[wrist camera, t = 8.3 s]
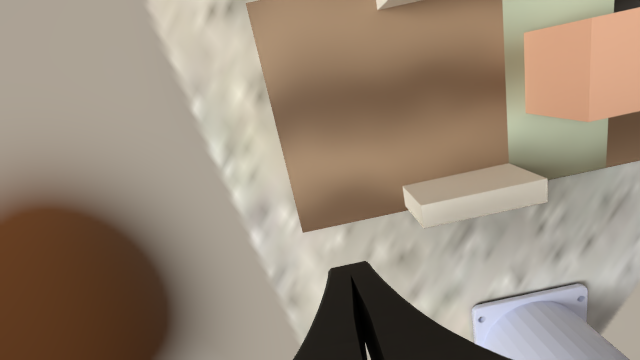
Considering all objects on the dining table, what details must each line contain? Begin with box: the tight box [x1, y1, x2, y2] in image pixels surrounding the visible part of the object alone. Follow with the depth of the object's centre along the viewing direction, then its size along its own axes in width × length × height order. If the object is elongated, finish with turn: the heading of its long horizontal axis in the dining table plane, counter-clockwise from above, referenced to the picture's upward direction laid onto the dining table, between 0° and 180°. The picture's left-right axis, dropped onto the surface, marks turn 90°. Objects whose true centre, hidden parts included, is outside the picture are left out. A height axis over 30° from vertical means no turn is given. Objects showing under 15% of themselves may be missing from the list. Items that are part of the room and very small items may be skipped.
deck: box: [246, 0, 640, 233], centre depth 18 cm, size 12×24×2 cm, turn 102°
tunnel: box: [376, 0, 548, 228], centre depth 15 cm, size 11×6×3 cm, turn 12°
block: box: [524, 7, 640, 122], centre depth 15 cm, size 4×4×4 cm
